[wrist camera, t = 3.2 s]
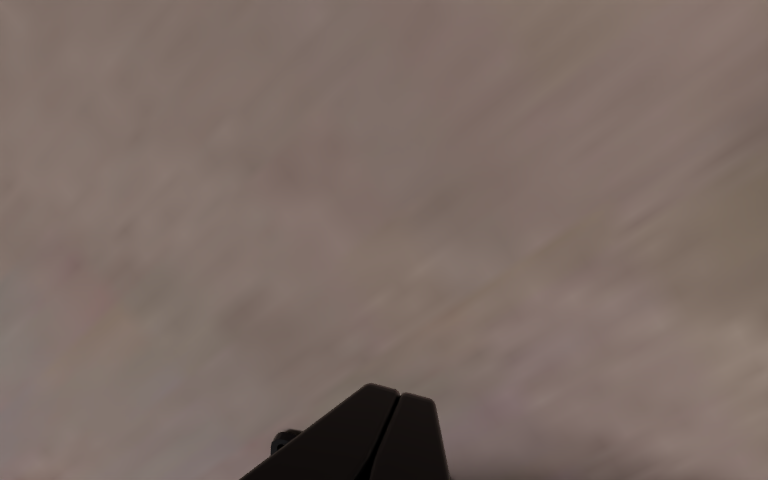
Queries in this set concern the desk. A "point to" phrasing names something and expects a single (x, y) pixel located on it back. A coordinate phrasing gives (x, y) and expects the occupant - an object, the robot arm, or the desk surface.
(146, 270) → the desk surface
